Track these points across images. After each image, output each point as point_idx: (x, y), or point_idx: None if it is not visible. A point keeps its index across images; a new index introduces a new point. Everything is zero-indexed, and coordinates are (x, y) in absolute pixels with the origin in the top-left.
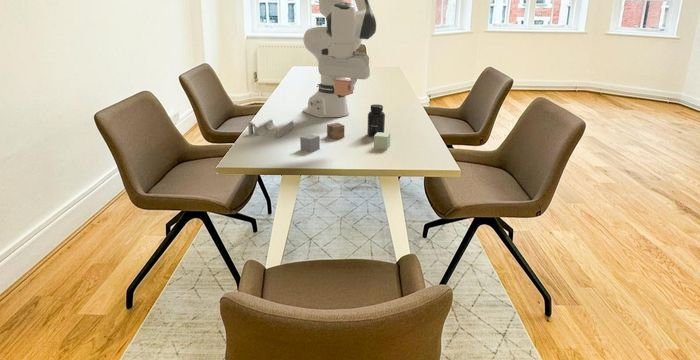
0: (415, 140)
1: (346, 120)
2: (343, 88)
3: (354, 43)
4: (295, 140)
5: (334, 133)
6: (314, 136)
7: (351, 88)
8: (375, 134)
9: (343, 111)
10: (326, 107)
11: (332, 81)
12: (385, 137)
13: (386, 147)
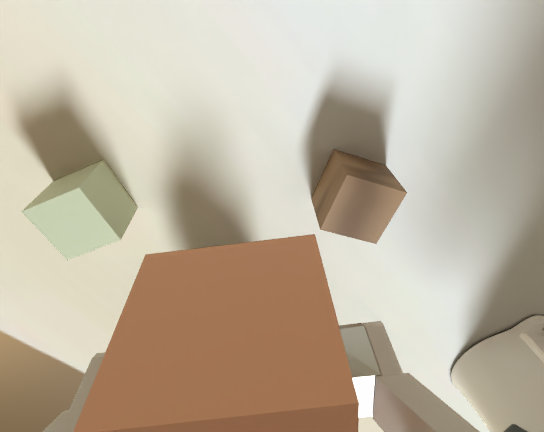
0: (84, 316)
1: (425, 341)
2: (160, 319)
3: None
4: (500, 4)
5: (337, 165)
6: None
7: (86, 372)
8: (93, 206)
9: (467, 378)
10: (535, 362)
11: (434, 401)
12: (32, 206)
13: (51, 184)
